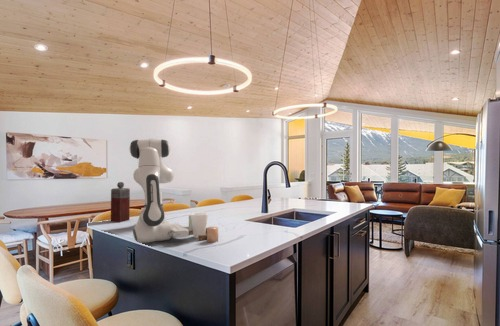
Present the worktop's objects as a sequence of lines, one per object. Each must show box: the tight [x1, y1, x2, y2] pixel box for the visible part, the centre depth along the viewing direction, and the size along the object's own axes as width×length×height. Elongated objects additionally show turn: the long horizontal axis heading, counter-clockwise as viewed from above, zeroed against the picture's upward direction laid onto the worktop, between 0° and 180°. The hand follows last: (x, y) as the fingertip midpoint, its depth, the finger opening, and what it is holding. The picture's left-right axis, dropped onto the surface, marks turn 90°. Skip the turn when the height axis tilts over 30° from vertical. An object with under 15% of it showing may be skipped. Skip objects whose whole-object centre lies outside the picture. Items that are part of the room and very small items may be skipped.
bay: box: [188, 227, 207, 241], centre depth 160 cm, size 11×16×2 cm
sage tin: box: [188, 214, 193, 229], centre depth 170 cm, size 6×6×10 cm
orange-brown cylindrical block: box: [206, 226, 219, 243], centre depth 149 cm, size 6×6×7 cm
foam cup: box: [190, 211, 209, 239], centre depth 158 cm, size 10×9×13 cm
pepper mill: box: [110, 181, 131, 223], centre depth 203 cm, size 9×11×28 cm
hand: (191, 228), depth 156 cm, fingers closed, pressing on foam cup
